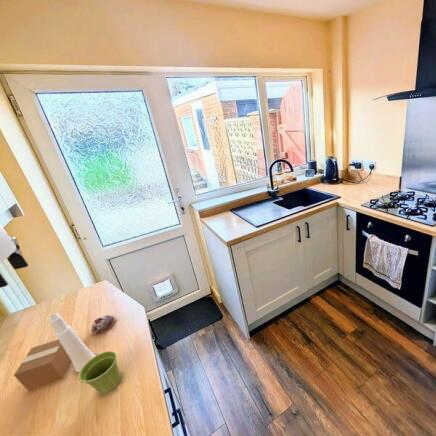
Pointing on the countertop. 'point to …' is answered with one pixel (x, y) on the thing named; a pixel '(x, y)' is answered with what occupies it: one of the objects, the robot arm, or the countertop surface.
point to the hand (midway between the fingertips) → (11, 276)
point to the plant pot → (101, 372)
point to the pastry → (102, 324)
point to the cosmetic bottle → (71, 342)
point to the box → (43, 365)
